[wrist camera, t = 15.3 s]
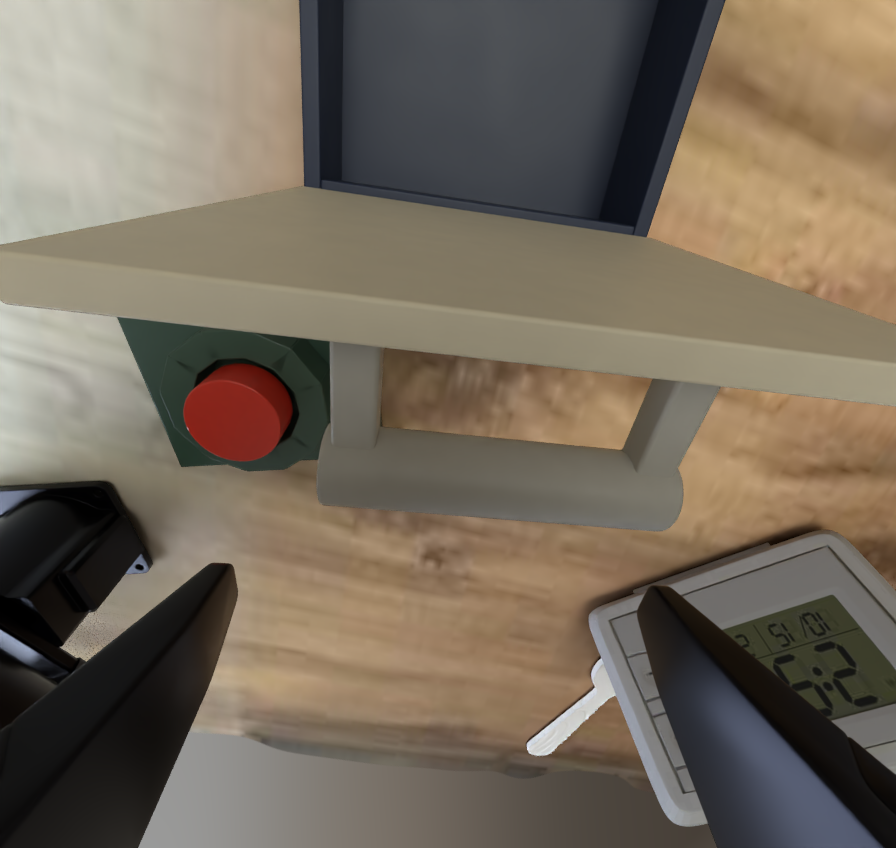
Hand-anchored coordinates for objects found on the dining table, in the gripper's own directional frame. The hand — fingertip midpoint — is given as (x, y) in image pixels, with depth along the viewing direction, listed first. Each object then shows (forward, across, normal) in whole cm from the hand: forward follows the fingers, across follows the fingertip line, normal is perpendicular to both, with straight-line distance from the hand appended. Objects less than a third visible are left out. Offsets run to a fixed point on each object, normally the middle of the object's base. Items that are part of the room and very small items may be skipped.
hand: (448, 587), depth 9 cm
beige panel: (+3, -1, -7) cm, 7 cm away
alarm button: (+10, +8, +1) cm, 13 cm away
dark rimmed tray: (+12, -1, -12) cm, 17 cm away
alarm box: (+13, +8, +1) cm, 15 cm away
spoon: (+13, -16, +27) cm, 34 cm away
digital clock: (+13, -20, +14) cm, 27 cm away
